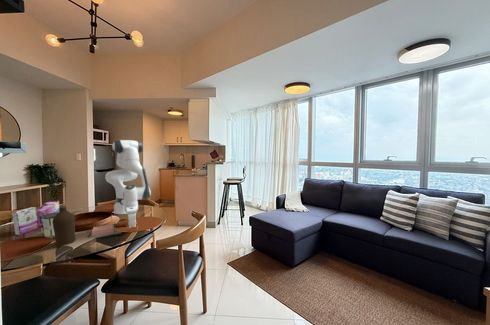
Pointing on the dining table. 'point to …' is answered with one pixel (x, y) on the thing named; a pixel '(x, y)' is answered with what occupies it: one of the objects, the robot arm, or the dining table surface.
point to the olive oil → (64, 227)
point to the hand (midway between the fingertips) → (132, 225)
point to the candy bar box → (25, 220)
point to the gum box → (47, 210)
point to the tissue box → (49, 224)
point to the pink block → (103, 230)
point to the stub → (130, 224)
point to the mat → (104, 235)
